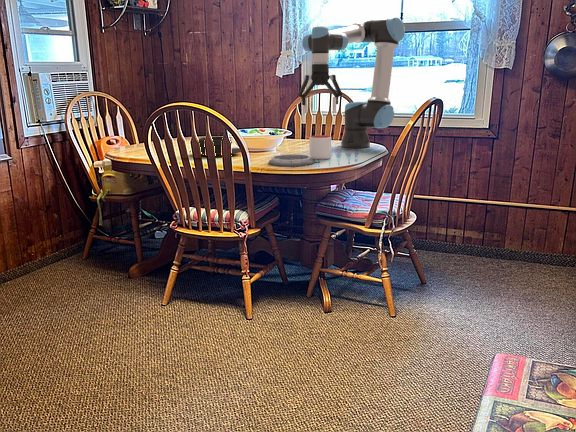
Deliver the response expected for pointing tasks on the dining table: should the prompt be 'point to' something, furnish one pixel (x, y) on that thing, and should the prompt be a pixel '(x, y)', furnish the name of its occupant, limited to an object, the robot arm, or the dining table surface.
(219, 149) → the casserole
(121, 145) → the dining table surface
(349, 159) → the dining table surface
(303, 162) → the ring collar
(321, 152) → the cup
